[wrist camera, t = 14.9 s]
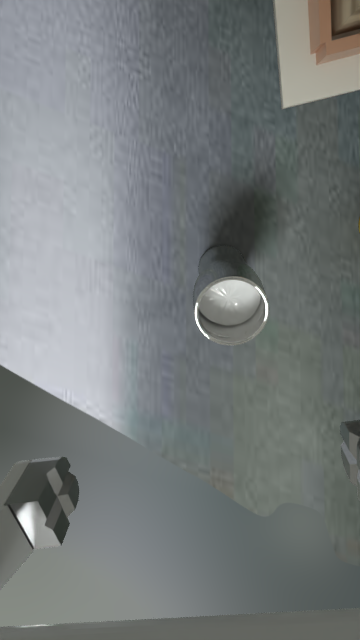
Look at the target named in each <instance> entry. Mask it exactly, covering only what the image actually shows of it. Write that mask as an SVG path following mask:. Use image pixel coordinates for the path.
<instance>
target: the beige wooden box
mask: <svg viewBox="0 0 360 640" xmlns="http://www.w3.org/2000/svg"><path fill="white" fill-rule="evenodd" d="M330 4H331V36H335V35H339V34H342V33H346V32H350V31H354V30H357V29H360V0H330Z"/></svg>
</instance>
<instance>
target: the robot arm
mask: <svg viewBox="0 0 360 640" xmlns="http://www.w3.org/2000/svg"><path fill="white" fill-rule="evenodd" d="M340 434H341V436H342V438H343V440H344V442H343V444H342V445H341V456H342V461H343V465H344V468H345V471H346V474H347V476H348V478H349V480H350V482H351V483H353V484H354V485H356V486H357V497H358V499H359V501H360V420H354V421H346V422H341V425H340ZM69 468H70V464H69V462H68V460H67V458H65V457H55V458H44V459H34V460H29V461H28V460H27V461H19V462H17V463H15V464H14V465H13V467H12V469H11V470H10V471H9V473H8V475H7V476H6V478H5V479H4V481H3V482H2V484H1V485H0V590H1V589H2V588H3V586H4V585H5V584H6V583H7V582H8V581H9V579H10V578H11V577H12V576H13V574H14V573H15V572H16V571H17V570H18V569H19V568H20V566H21V565H22V564H23V563H24V562H25V561H26V559H27V558H28V557H29V556H30V555H31V554H32V552H33V549H41V548H48V547H49V548H50V547H57V546H61V545H62V543H63V540H64V537H65V535H66V532H67V529H68V527H69V524H70V523H69V520H68V516H69V515H70V514H71V513H72V512H73V511H74V510H75V508H76V505H77V502H78V497H79V486H78V481H77V479H76V477H75V476H74V475H73V474H71V473H70V472H68V471H69ZM0 640H360V608H355V609H354V608H353V609H335V610H315V611H297V612H278V613H258V614H238V615H219V616H200V617H183V618H182V617H181V618H161V619H144V620H143V619H142V620H123V621H106V622H84V623H65V624H46V625H26V626H8V627H0Z"/></svg>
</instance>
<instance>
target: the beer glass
mask: <svg viewBox="0 0 360 640" xmlns="http://www.w3.org/2000/svg"><path fill="white" fill-rule="evenodd" d="M198 273H199V276H198V278H197V280H196V282H195V285H194V291H193V306H194V315H195V320H196V323H197V326H198V328H199V329H200V331H201V332H202V333H203V334H204V335H205V336H206V337H207V338H208V339H210V340H212V341H214V342H216V343H219V344H223V345H238V344H242V343H245V342H248V341H250V340H251V339H253V338H254V337H256V336H257V335H258V334H259V333H260V332H261V331H262V330H263V328H264V326H265V325H266V323H267V320H268V316H269V303H268V299H267V297H266V293H265V290H264V287H263V285H262V282H261V280H260V279H259V277H258V275H257V274H256V273H255V271H254V270H253V269H252V268H251V267H250V266H248V265H247V264H246V263H245V260H244V257H243V256H242V254H241V253H240V252H239V251H238V250H237V249H235V248H233V247H231V246H226V245H220V246H215V247H213V248H211V249H209V250H208V251H206V252H205V253H204V255H203V256H202V258H201V259H200V262H199V266H198Z"/></svg>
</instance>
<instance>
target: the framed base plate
mask: <svg viewBox="0 0 360 640" xmlns="http://www.w3.org/2000/svg"><path fill="white" fill-rule="evenodd" d="M273 9H274V21H275V33H276V45H277V58H278V70H279V82H280V94H281V107H282V109H286V108H290V107H294V106H298V105H302V104H306V103H310V102H314V101H318V100H322V99H326V98H330V97H334V96H338V95H342V94H347V93H351V92H355V91H359V90H360V29H357V30H354V31H350V32H346V33H342V34H339V35H335V36H331V4H330V0H273Z"/></svg>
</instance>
